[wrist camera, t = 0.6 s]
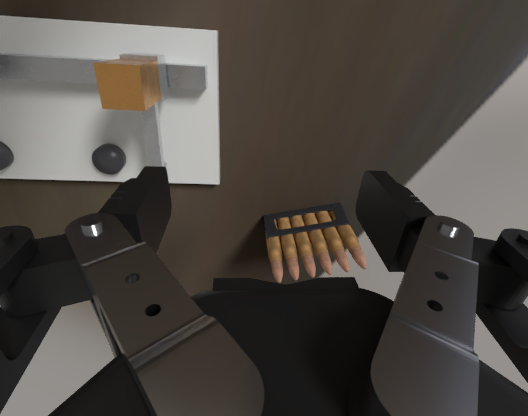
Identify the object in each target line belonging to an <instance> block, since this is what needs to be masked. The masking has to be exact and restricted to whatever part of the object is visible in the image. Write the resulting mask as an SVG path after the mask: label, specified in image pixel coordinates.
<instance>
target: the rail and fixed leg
mask: <svg viewBox="0 0 528 416" xmlns="http://www.w3.org/2000/svg"><path fill="white" fill-rule="evenodd" d="M106 60H112V59H99V58H82V57H65V56H49V55H32V54H15V53H0V79H18V80H36V81H55V82H74V83H93V84H97V80H96V75H95V70H94V65H93V63H94V62H100V61H106ZM166 71H167V82H168V88H186V89H205V90H206V89H207V87H208V71H207V65H199V64H182V63H166Z"/></svg>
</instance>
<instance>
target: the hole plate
mask: <svg viewBox="0 0 528 416" xmlns="http://www.w3.org/2000/svg"><path fill="white" fill-rule="evenodd" d="M0 53H15V54H32V55H49V56H65V57H82V58H99V59H118V58H120V56H119V54H124V53H143V54H160V55H165V60H166V63H182V64H199V65H207V71H208V87H207V89H206V90H205V89H186V88H168V92H169V97H168V98H167V99H166V100H164V101H163V102H157V103H158V112H159V121H160V130H161V139H162V147H163V156H164V161H165V162H166V163H167V167H166V169H167V174H168V181H169V183H185V184H220V128H219V59H218V31H216V30H202V29H188V28H173V27H159V26H145V25H130V24H116V23H102V22H87V21H73V20H58V19H44V18H30V17H15V16H1V15H0ZM145 166H150V165H149V157H148V150H147V143H146V136H145V128H144V121H143V114H142V111H137V110H116V109H102V105H101V100H100V95H99V90H98V85H97V84H93V83H74V82H55V81H36V80H18V79H0V178H4V179H40V180H77V181H113V182H125V181H127V180H129V179H130V178H137V176H138V175H139V174H140V172H141V171H142V169H143V168H144V167H145Z"/></svg>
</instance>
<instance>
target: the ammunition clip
mask: <svg viewBox="0 0 528 416" xmlns="http://www.w3.org/2000/svg"><path fill="white" fill-rule="evenodd" d="M263 222H264V228H265V233H266V241H267V249H268V256H269V259H270V262H271V266H272V271H273V275H274V277H275V279H276V281H277V282H278V283H280V282H281V281H282V276H283V266H282V250H283V254H284V257H285V259H286V262H287V265H288V269H289V272H290V274H291V276H292V277H293V279H294V280H297V279H298V277H299V265H298V258H297V248H298V252H299V254H300V256H301V258H302V261H303V263H304V266H305V269H306V271H307V272H308V274H309V275H310V276H311V277H312V278H314V276H315V262H314V259H313V254H312V247H313V250H314V252H315V253H316V255H317V257H318V259H319V261H320V264H321V266H322V268H323V269H324V270H325V272H326V273H327V274H329V275H331V273H332V264H331V260H330V257H329V253H328V248H327V244H328V246H329V249H330V250H331V251H332V252H333V254H334V256H335V258H336V260H337V262H338V264H339V265H340V266H341V268H342V269H343V270H344V271H346V272H348V271H349V263H348V259H347V256H346V253H345V250H344V248H343V243H344V245H345V247H346V248H347V249H348V250H349V252H350V254H351V255H352V257H353V259H354V260H355V261H356V263H357V264H358V265H359V266H360V267H361V268H363V269H366V260H365V257H364V254H363V252H362V250H361V248H360V246H359V242H358V239H357V237H356V235H355V234H354V232H353V230H352V228H351V226H350V222H349V220H348V218H347V216H346V213H345V211H344V209H343V207H342V205H341V203H336V204H330V205H324V206H318V207H312V208H306V209H300V210H294V211H288V212H282V213H276V214H270V215H264V216H263ZM291 227H292V228H291ZM321 230H322V231H321ZM307 232H308V234H307ZM322 232H323V234H322ZM293 234H294V236H293ZM308 235H309V237H308ZM279 236H280V238H279ZM294 237H295V239H294ZM340 237H341V238H340ZM280 239H281V241H280ZM341 239H342V240H341ZM325 240H326V241H325ZM342 241H343V243H342ZM310 242H311V243H310ZM326 242H327V244H326ZM311 244H312V247H311ZM296 245H297V248H296ZM281 247H282V249H281Z"/></svg>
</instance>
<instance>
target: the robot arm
mask: <svg viewBox="0 0 528 416" xmlns="http://www.w3.org/2000/svg"><path fill="white" fill-rule="evenodd" d="M170 216H171V196H170V189H169V181H168V174H167V169H166V167H164V166H145V167H144V168H143V169H142V171H141V172H140V174H139V175H138V176H137V178H130V179H129V180H127V181H125V182H123V183H122V184H120V186H119V187H118V188H117V189H116V191H115V192H114V193H113V195H112V196H111V198H109V200H108V201H107V202H106V203H105V205H104V206H103V207H102V208H101V210H100V211H99V212H98V213H95V214H89V215H86V216H83V217H80V218H78V219H76V220H74V221H73V222H71V223H70V224H69V225H68V226H67V227H66V229H65V234H63V235H58V236H52V237H46V238H41V239H35V238H34V236H33V233H32V231H31V229H30V228H28V227H25V226H7V227H2V228H0V305H1V307H0V413H1V411H2V410H3V408H4V406H5V404H6V403H7V401H8V399H9V397H10V396H11V394H12V392H13V391H14V389H15V387H16V385H17V384H18V382H19V380H20V378H21V377H22V375H23V373H24V371H25V370H26V368H27V366H28V364H29V363H30V361H31V359H32V358H33V356H34V354H35V352H36V351H37V349H38V347H39V345H40V344H41V342H42V340H43V338H44V337H45V335H46V333H47V332H48V330H49V328H50V326H51V325H52V323H53V321H54V319H55V318H56V316H57V314H58V313H59V311H60V309H61V307H62V306H67V305H71V304H75V303H78V302H83V301H87V300H90V302H91V304H92V306H93V309H94V311H95V313H96V315H97V317H98V320H99V322H100V324H101V326H102V329H103V331H104V333H105V336H106V338H107V340H108V342H109V345H110V347H111V350H112V352H113V355H114V357H115V358H114V359H113V360H112V361H111V362H110V363H109V364H107V365H106V366H105V367H104V368H103V369H101V370H100V371H99V372H98V373H97V374H96V375H94V376H93V377H92V378H91V379H90V380H89V381H88V382H86V383H85V384H84V385H83V386H82V387H81V388H79V389H78V390H77V391H76V392H75V393H74V394H72V395H71V396H70V397H69V398H68V399H67V400H66V401H64V402H63V403H62V404H61V405H60V406H59V407H57V408H56V409H55V410H54V411H53V412H52V413H50V414H49V415H48V416H528V393H527V392H526V391H524V390H523V389H521V388H520V387H518V386H517V385H515V384H514V383H513V382H511V381H509V380H508V379H507V378H505V377H504V376H502V375H501V374H500V373H498V372H496V371H495V370H494V369H492V368H490V367H489V366H488V365H486V364H485V363H483V362H482V361H481V360H479V358H478V355H477V354H476V353H474V333H475V317H476V314H477V315H478V317H479V318H480V319H481V321H482V322H483V323H484V325H485V326H486V327H487V329H488V330H489V331H490V333H491V334H492V335H493V337H494V338H495V340H496V341H497V342H498V343H499V345H500V346H501V348H502V349H503V350H504V352H505V353H506V354H507V355H508V357H509V358H510V360H511V361H512V362H513V364H514V365H515V366H516V368H517V369H518V370H519V372H520V373H521V375H522V376H523V377H524V378H525V380H526V381H527V383H528V308H527V307H526V306H525V305H524V304H523V302H524V300H525V299H526V298H527V296H528V231H524V230H520V229H504V230H503V231H502V232H501V234H500V236H499V237H498V239H497V241H494V240H489V239H483V238H478V237H474V233H473V231H472V229H471V228H469V227H468V226H467V225H466V224H464V223H462V222H460V221H458V220H456V219H453V218H450V217H446V216H436V215H434V213H432V211H430V210H429V209H428V208H427V207H426V206H425V205H424V204H423V203H422V202H420V200H419V199H418V198H417V197H415V195H414V194H413V193H412V192H411V191H410V190H409V189H408V188H406V187H404V186H402V185H401V184H399V183H397V182H396V181H395V180H394V179H393V178H392V177H391V176H390V175H389V174H388V173H387V172H386V171H365V173H364V174H363V177H362V181H361V186H360V190H359V194H358V198H357V203H356V216H357V219H358V221H359V222H360V224H361V226H362V227H363V229H364V231H365V232H366V234H367V236H368V237H369V239H370V240H371V242H372V244H373V245H374V247H375V249H376V251H377V252H378V254H379V256H380V257H381V259H382V261H383V262H384V264H385V266H386V267H387V269H388V271H389V272H404V273H405V274H404V276H403V279H402V281H401V284H400V287H399V289H398V292H397V294H396V297H395V300H394V301H392V300H390V299H388V298H387V297H384V296H382V295H380V294H378V293H375V292H372V291H369V290H365V289H361V288H359V287H358V284H357V282H356V280H355V278H354V277H340V278H339V277H334V278H333V277H330V278H316V279H312V280H307V281H302V282H298V283H293V284H288V285H285V284H279V283H273V282H268V281H262V280H257V279H251V278H214V282H213V289H211V290H207V291H204V292H201V293H198V294H196V295H193V296H191V297H190V296H189V294H188V293H187V292H186V291H185V289H184V288H183V287H182V286H181V284H180V283H179V282H178V281H177V280H176V278H175V277H174V276H173V275H172V273H171V272H170V271H169V270H168V268H167V267H166V266H165V265H164V263H163V262H162V261H161V260H160V259H159V257H158V256H157V255H156V252H157V249H158V247H159V244H160V242H161V239H162V236H163V234H164V231H165V229H166V226H167V224H168V221H169V219H170Z"/></svg>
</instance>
